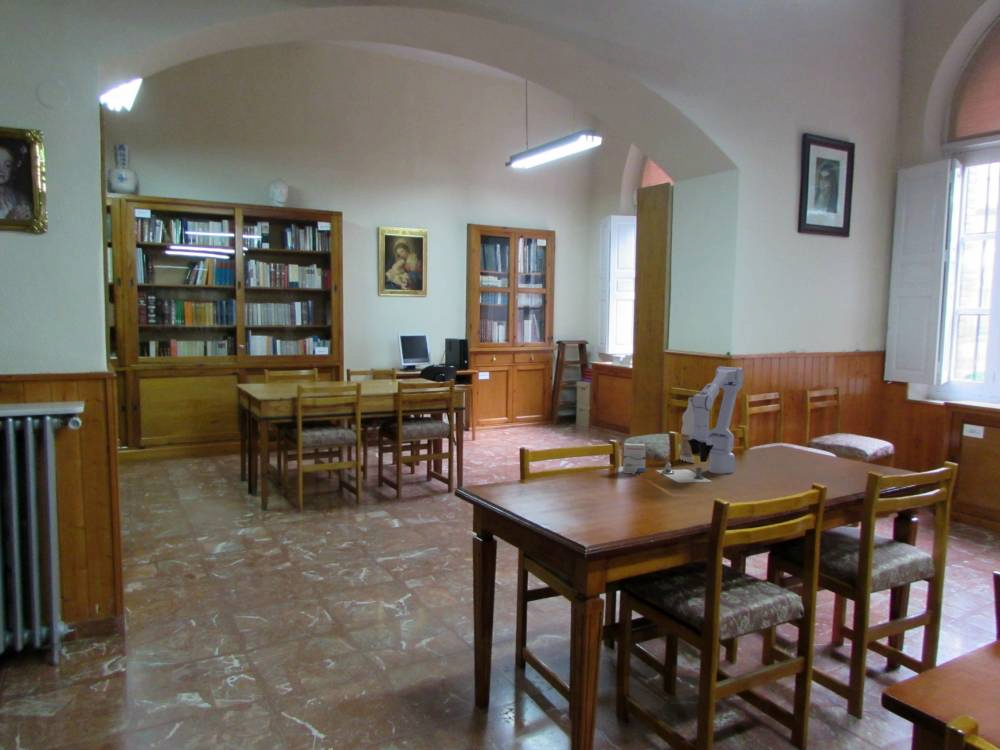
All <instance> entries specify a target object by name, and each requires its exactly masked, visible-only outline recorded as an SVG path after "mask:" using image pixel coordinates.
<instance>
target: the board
mask: <svg viewBox="0 0 1000 750" xmlns="http://www.w3.org/2000/svg"><path fill="white" fill-rule="evenodd" d="M695 469H696V471H695V472H693V471H692V470H689V469H687V468H686V469H671V471H674V474H663V473H662V471H663V470H664V469H660V470H659V469H656V470H655V472H658V473H660V474H662V475H663V476H665V477H667V478H669V479H671V480H673V481H674V482H677V483H706V482H713V481H712V480H710V479H708V478H707V477H704V476H702V475H703V474H702V473H703V472H702V469H703V468H702V467H696V468H695Z"/></svg>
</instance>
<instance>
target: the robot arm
mask: <svg viewBox="0 0 1000 750" xmlns="http://www.w3.org/2000/svg"><path fill="white" fill-rule="evenodd" d="M744 378H745V373H744V370H743V368H742V367H734V366H733V367H731V366H723V365H719V366H717V368H716V370H715V376H714V379H713V380H712V382H709V383H707V384H706V385H705V386H704V388H702V390H701V391H700V392H699V393H695V394H694V395H693V396H692V402H691V403H692V408H693V413H694V424H693V433H689V438H691V440H688V443H689V445H690V447H691V451H692V454H695V453H700V460H701V462H706V461H707V458H708V459H709V460H708V461H709V462H708V463H709V464H708V465H709V466H708V472H710V473H713V474H717V475H718V474H719V475H720V474H723V475H724V474H735V471H736V470H735V467H736V458H735V454H734V453H733V450H734V446H735V442H734V441H735V435H734V434H733V432H731V430H730V425H731V421H732V417H733V413H734V412H733V411H734V408H735V403H736V399H737V394H738V391H740V390H742V387H743V383H744ZM720 388H721V389H722V390H724V392H723V397H722V400H721V403H720V404H721V406H720V409H719V413H718V418H717V422H716V427H714V428H712V429H710V413H711V412H710V411H711V410H712V408H713V404H714V402H715V399H716V398H717V396H718V395H719V393H720ZM702 443H703V444H702Z"/></svg>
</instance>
